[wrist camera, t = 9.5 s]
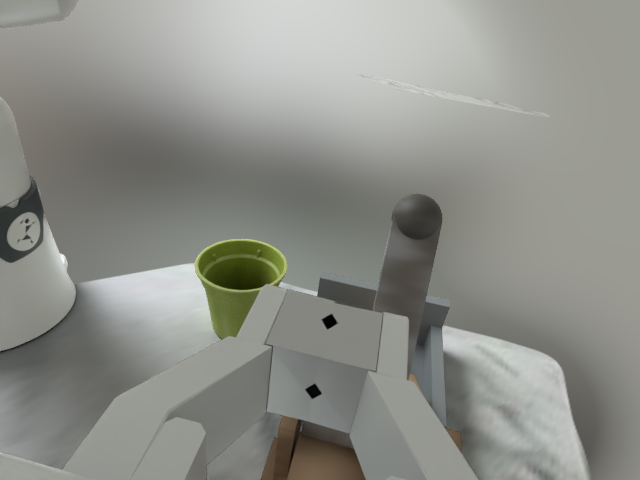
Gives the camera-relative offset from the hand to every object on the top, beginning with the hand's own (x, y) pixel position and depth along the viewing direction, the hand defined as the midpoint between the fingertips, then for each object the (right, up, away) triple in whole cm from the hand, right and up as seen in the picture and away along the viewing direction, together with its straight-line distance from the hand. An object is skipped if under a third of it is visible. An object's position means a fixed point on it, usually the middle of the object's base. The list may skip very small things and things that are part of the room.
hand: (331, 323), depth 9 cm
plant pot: (-9, -8, +40) cm, 42 cm away
